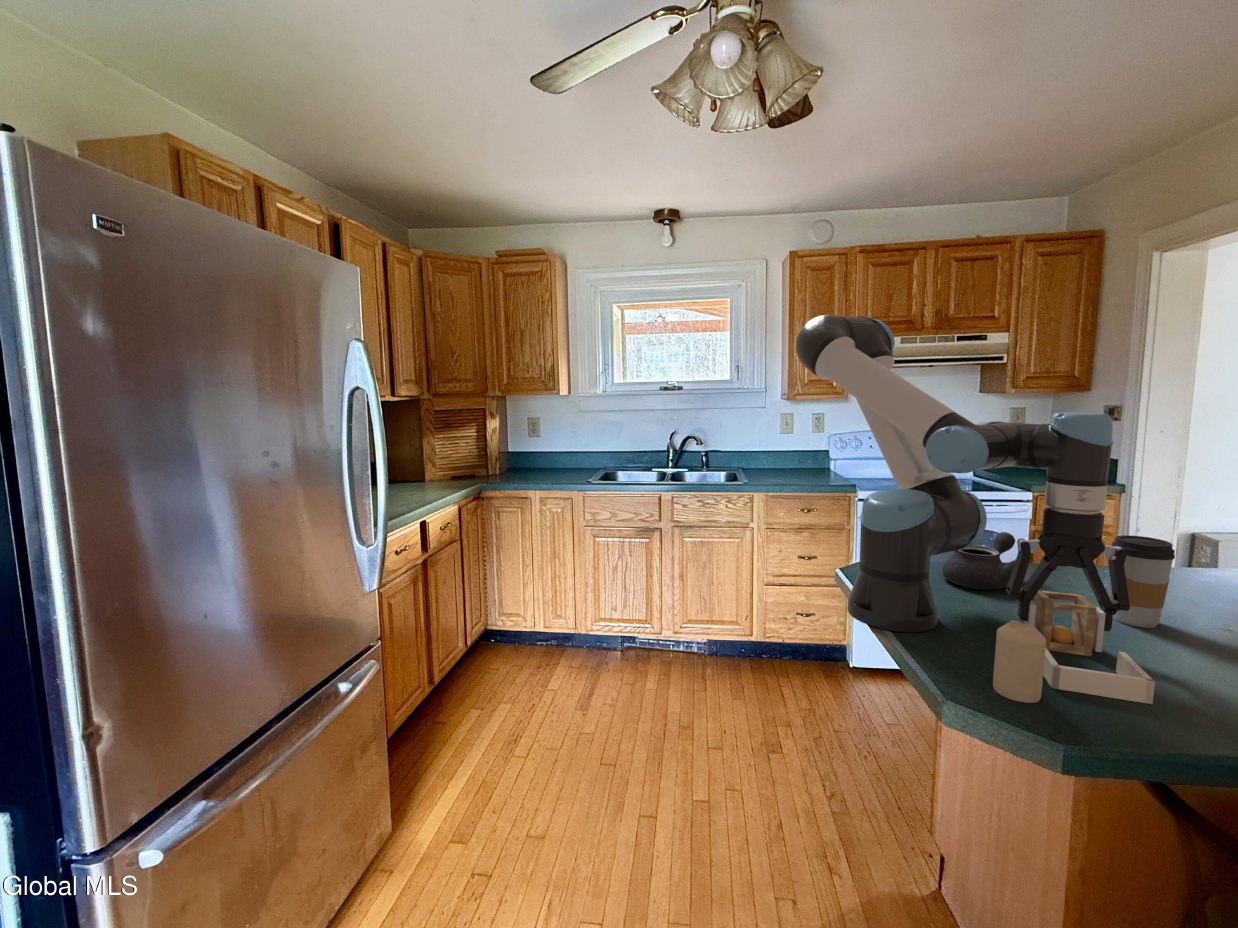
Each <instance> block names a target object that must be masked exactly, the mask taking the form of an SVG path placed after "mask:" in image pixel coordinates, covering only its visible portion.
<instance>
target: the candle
mask: <svg viewBox="0 0 1238 928" xmlns="http://www.w3.org/2000/svg"><path fill="white" fill-rule="evenodd" d="M995 637H996V640H995V651H994V661H993V662H994V664H993V677H992V687H993V688H992V689H993V690H994V691H995V692H996V693H997V694H999V695H1000V696H1002V697H1004V698H1007V699H1008V700H1011V701H1015V702H1019V703H1023V702H1024V703H1025V704H1033V703H1034V704H1035V703H1039V702H1040V700H1041V699H1042V694H1043V693H1042V690H1043V682H1044V679H1043V678H1044V676H1043V671H1044V660H1045V649H1046V638H1045V637H1044V636H1043V635H1042V634H1041V633H1040V632H1039V631H1038V630H1037V629H1036V628H1035V627H1034V625H1032V624H1024V623H1021V621H1018V620H1015V619H1014V620H1013V619H1012V620H1010V621H1009V622H1007V623H1005V624H1004V625H1001V626H1000V627H998V628H997V629H996V636H995Z"/></svg>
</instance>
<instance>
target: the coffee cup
mask: <svg viewBox="0 0 1238 928" xmlns="http://www.w3.org/2000/svg"><path fill="white" fill-rule="evenodd" d="M1111 546H1119V547H1121V548H1122V549H1124V550H1126V551H1127V556H1126V560H1125V563H1124V568H1125V575H1126V582H1127V589H1128V596H1129V603H1130V609H1129V610H1128V611H1123V610H1120V611H1117V613H1116V614H1115V615H1113V619H1114V620H1115V621H1118V622H1119V623H1122V624H1125V625H1128V626H1133V627H1137V628H1143V629H1145V628H1146V629H1153V628H1156V627H1157V625H1159V624H1160V623H1161V622H1160V621H1161V617H1162V611H1163V608H1164V605H1165V601H1166V596H1167V593H1168V588H1169V583H1170V575H1171V571H1172V567H1173V566H1172V565H1173V561H1174V560H1175V559H1176V556H1175V552H1176V550H1175V549H1174V548H1173V543H1172V542H1170V541H1168V540H1167V541H1166V540H1163V539H1159V538H1153V537H1149V536H1140V535H1129V534H1127V535H1116V536H1115V539H1114V541H1112V542H1111ZM1110 600H1113V594H1112V587H1111V586H1110Z"/></svg>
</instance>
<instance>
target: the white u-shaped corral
mask: <svg viewBox="0 0 1238 928" xmlns="http://www.w3.org/2000/svg"><path fill="white" fill-rule="evenodd" d="M1117 651H1118V650H1117ZM1115 672H1116V673H1113V672H1108V671H1100V670H1093V669H1089V668H1088V669H1086V668H1079V667H1075V666H1065V665H1060V664H1058V662H1057V661H1056V659H1055V658H1054V657H1053V655H1052V654H1051V652H1050V651H1049V650H1047V649H1045V660H1044V671H1043V678H1044V679H1045V680H1046V682H1047V684H1048V686H1050V688H1051V689H1056V690H1062V691H1068V692H1073V693H1074V692H1075V693H1081V694H1087V695H1092V696H1098V697H1105V698H1111V699H1118V700H1124V701H1131V702H1134V703H1136V702H1137V703H1143V704H1149V705H1153V704H1154V694H1155V686H1156V681H1155V680H1154V678H1152V677H1151V676H1150V675H1149V674H1148V673H1147V672H1146V671H1145V670H1144V669H1142V667H1141V666H1139V664H1138V663H1136V662H1135V660H1134V659H1132V658H1131V657H1130V656H1129V654H1127V652H1124V651H1118V652H1117V658H1116V668H1115Z"/></svg>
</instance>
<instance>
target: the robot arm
mask: <svg viewBox="0 0 1238 928" xmlns="http://www.w3.org/2000/svg"><path fill="white" fill-rule="evenodd" d="M795 341H796V342H795V351H796V356H797V358H798V360H799V361H800V363H801V364H802V365H803V367H804V368H806V369H807V370H808V371H809V372H811V373H812V374H813V375H814V376H816V377H817V378H819V379H820V380H823V381H829V380H830V381H832V382H833V383H835V384H836V385H837V386H838V387H840V388H841V389H843V390H844V391H846V392H847V393H849V394H850V395H851V396H852V397H854V398H855V399H856V402H857V404H858V406H859V408H860V410H861V412H862V414H863V416H864V418H865V420H866V423H867V426H868V427H869V429H870V431H871V432H872V433H871V434H872V435H873V438H874V440H875V442H876V443H877V447H878V448H879V450H880V452H881V454H882V456H883V459H884V460H885V462H886V464H887V467H888V468H889V471H890V473H891V476H892V478H893V479H894V482H895V483H896V486H897V488H895V489H884V490H879V491H876V492H871V493H870V494H868V495H867V496H865V498H864V499H863V502H862V505H861V506H862V507H861V512H860V518H859V519H860V537H859V538H860V541H859V542H860V543H859V544H860V545H859V546H860V547H859V566H858V567H859V569H858V574H857V576H856V579H855V581H854V584H853V585H852V588H851V591H850V593H849V596H848V599H847V612H848V614H849V615H850V617H852V618H853V619H855V620H856V621H858V622H861V623H862V624H865V625H868V626H870V627H873V628H878V629H880V630H881V629H882V630H886V631H890V632H891V631H892V632H899V633H921V632H927V631H931V630H933V629H934V628H936V627H937V625H938V615H939V614H938V613H939V611H938V608H937V604H936V601H935V597H934V595H933V591H932V587H931V584H930V580H929V579H930V562H931V557H933V556H936V555H941V554H947V553H949V552H951V553H952V552H953V553H954V551H958V550H960V549H963V548H965V547H967V546H970V545H974V544H975V543H977V542H978V541H979V540H980V538H981V537H982V536H983V534H984V533H985V532H984V531H985V530H986V528H987V522H988V521H987V520H988V516H987V511H986V508H985V506H984V504H983V502H982V501H981V499H980V498H979V497H978V496H977V495H976V494H974V493H972V492H969V490H968V491H967V490H966V489H964V488H963V489H962V487H961V485H960V483H959V481H958V480H957V477H956V476H955V474H969V473H972V472H976V471H982V470H992V469H1000V468H1006V467H1007V468H1008V467H1014V468H1015V467H1017V468H1025V469H1026V468H1028V469H1037V470H1046V477H1045V478H1046V480H1045V481H1046V482H1045V491H1044V493H1045V494H1044V500H1043V501H1044V502H1043V504H1044V505H1046V506H1047V507H1045V508H1044V509H1043V512H1042V513H1043V514H1042V515H1043V516H1042V525H1041V533H1040V535H1039V537H1038V538H1037V539H1024V538H1018V539H1017V541H1016V543H1017V551H1018V552H1017V554H1016V561H1015V564H1014V567H1013V570H1012V573H1011V576H1010V579H1009V582H1008V585H1007V586H1006V588H1005V590H1006V591H1005V592H1007V594H1008V596H1009V597H1010V598H1011V599H1016V600H1018V604H1017V605H1018V606H1017V607H1018V608H1017V616H1018V618H1019V620H1020V622H1023V624H1032V625H1035V613H1036V605H1035V604H1034V601H1033V600H1034V599H1035V595H1036V594H1037V592H1038V591H1039V590H1040V591H1041V588H1042V587H1043V586H1044V584H1045V583H1046V581H1047V580H1048V578H1049V577H1050V575H1051V574H1052V573H1053V572H1054V571H1056V569H1057V568H1058V567H1063V568H1064V567H1073V568H1076V569H1077V568H1078V569H1082V571H1083V573H1084V575H1085V577H1086V579H1087V582H1088V585H1089V586H1090V589H1091V590H1092V592H1093V594H1094V596H1095V599H1096V601H1097V603H1098V605H1099V606H1095V607H1096V608H1097V609H1096V618H1095V628H1094V638H1093V648H1092V650H1094V652H1096V653H1102V651H1103V641H1104V632H1111V630H1112V629H1113V628H1112V627H1113V626H1112V625H1113V619H1114V618H1113V615H1115V614H1116V613H1117V611H1120V610H1123V611H1128V610H1129V609H1130V603H1129V596H1128V589H1127V582H1126V575H1125V568H1124V563H1125V560H1126V556H1127V551H1126V550H1124V549H1122V548H1121V547H1119V546H1112V545H1107V544H1104V542H1103V534H1104V523H1105V514H1103V512H1101V511H1105V509H1106V504H1107V503H1106V502H1107V501H1106V499H1107V493H1108V484H1109V483H1108V482H1109V481H1108V479H1109V473H1110V472H1109V471H1110V464H1111V457H1112V449H1113V446H1114V445H1113V444H1114V441H1113V423H1114V421H1113V418H1112V417H1111V415H1110V414H1107V413H1104V412H1088V411H1087V412H1083V411H1082V412H1076V411H1075V412H1074V411H1073V412H1070V411H1069V412H1068V411H1067V412H1065V411H1064V412H1055V413H1054V414H1053V415H1052V417H1051V420H1050V422H1049V423H1040V424H1039V423H1023V422H1006V421H982V422H978V423H976V424H975V423H973V422H972V421H970V420H968V419H967V418H966V417H964V416H962V415H961V414H959V413H957V412H956V411H955V410H954V409H951V408H950V407H949V406H947V405H945V404H944V403H942V402H941V401H939V400H937V399H936V398H934V397H933V396H931V395H930V394H928V393H926V392H925V391H924V390H922V389H920V388H919V387H918V386H916V385H915V384H912V383H911V382H909V380H906V379H905V378H903V377H901V376H900V375H898V374H897V373H896V372H894V371H893V370H892V368H893V366H894V364H895V359H894V358H895V357H894V356H893V355H894V352H895V351H894V348H895V346H896V345H895V344H896V343H895V337H894V334H893V332H892V330H891V328H890V327H889V326H888V325H887V324H886V323H885V322H883V321H881V320H879V319H878V318H877V319H876V318H872V317H870V316H863V315H862V316H845V315H835V314H823V315H822V314H821V315H817V316H816V317H813V318H811V319H810V320H808V321H807V322H806V323H805V324H804V325H803V326H802V327H801V329H800V330H799V332H798V335H797V336H796V340H795ZM1037 548H1040V549H1041V550H1042V552H1043V553H1044V555H1043V556H1042V557H1041V559H1040V561H1039V564H1038V566H1037V567H1036V569H1034V571H1033V573H1032V574H1031V576H1030V577H1029V579H1028V580H1027V581H1026V582H1025V584H1024V585H1023V583H1024V579H1025V577H1026V574H1027V570H1028V568H1029V565H1030V561H1031V558H1032V554H1034V553H1035V552H1036V550H1037ZM1102 554H1104V556H1105V558H1106V559H1107V564H1108V565H1107V566H1108V572H1109V579H1110V588H1111V587H1112V594H1113V600H1111V597H1110V596H1109V594H1108V591H1107V589H1106V587H1105V585H1104V583H1103V581H1102V579H1101V577H1100V575H1099V571H1098V568H1097V566H1096V564H1095V562H1094V561H1095V560H1096V559H1097V558H1098V557H1099V556H1100V555H1102Z"/></svg>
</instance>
